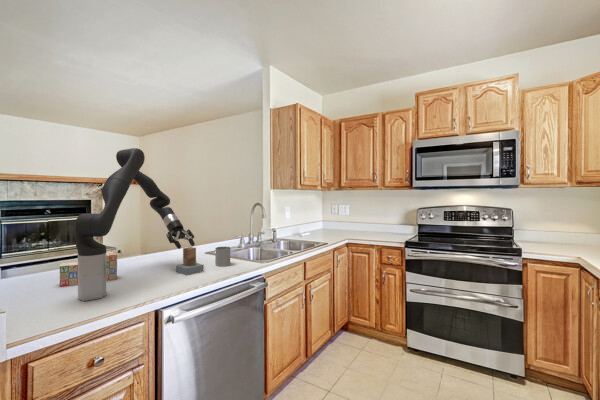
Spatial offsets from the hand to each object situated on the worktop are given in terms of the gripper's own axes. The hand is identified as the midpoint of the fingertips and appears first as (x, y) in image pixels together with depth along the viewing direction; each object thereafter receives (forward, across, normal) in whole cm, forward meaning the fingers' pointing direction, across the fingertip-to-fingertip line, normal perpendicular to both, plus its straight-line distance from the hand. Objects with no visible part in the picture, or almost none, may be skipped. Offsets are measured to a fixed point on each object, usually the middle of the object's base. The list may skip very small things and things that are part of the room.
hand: (186, 246), depth 155 cm
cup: (+14, +20, +5) cm, 25 cm away
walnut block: (+8, 0, +5) cm, 10 cm away
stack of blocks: (-6, -36, +26) cm, 45 cm away
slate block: (+11, 0, +8) cm, 14 cm away
